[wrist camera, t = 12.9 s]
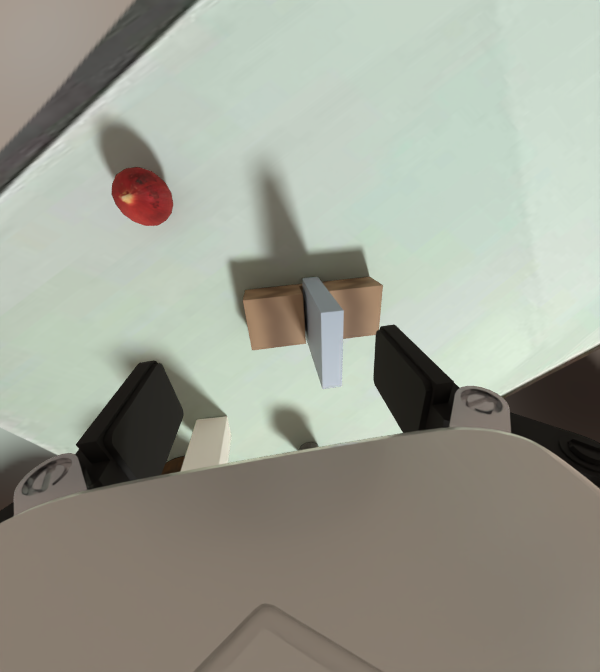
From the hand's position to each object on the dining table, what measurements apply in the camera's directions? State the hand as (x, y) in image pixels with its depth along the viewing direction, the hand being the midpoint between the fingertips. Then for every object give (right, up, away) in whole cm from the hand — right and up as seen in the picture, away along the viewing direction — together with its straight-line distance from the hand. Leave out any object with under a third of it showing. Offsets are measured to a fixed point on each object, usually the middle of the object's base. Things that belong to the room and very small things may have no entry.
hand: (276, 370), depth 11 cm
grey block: (+3, +6, +29) cm, 30 cm away
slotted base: (+3, +6, +30) cm, 31 cm away
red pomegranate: (-17, +19, +21) cm, 33 cm away
